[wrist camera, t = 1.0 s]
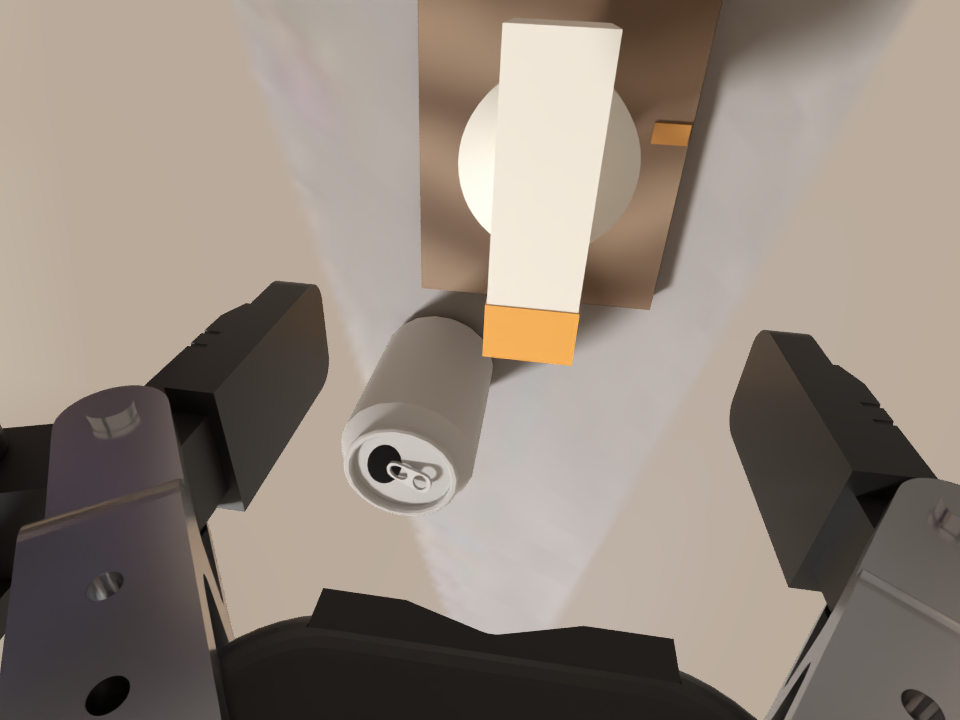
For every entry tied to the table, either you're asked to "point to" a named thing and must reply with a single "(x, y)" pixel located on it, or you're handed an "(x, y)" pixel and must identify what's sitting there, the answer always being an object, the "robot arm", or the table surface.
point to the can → (419, 418)
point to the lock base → (639, 82)
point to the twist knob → (547, 179)
